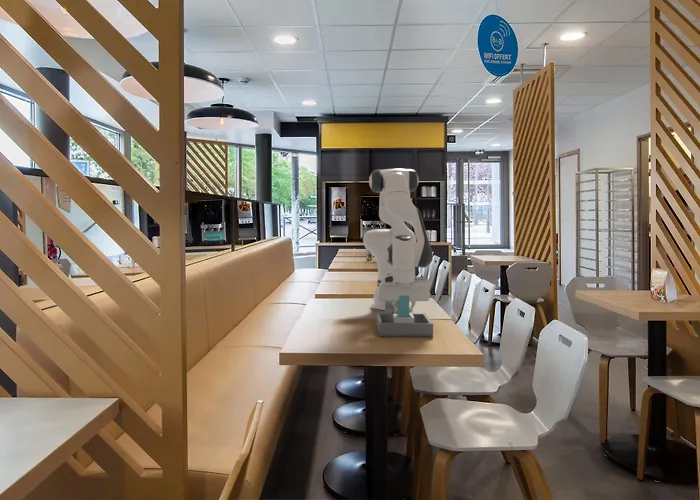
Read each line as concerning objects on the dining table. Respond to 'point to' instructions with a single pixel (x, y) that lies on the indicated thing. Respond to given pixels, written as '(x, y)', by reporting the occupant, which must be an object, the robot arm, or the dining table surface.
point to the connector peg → (403, 306)
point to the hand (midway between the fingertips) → (403, 312)
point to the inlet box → (404, 325)
